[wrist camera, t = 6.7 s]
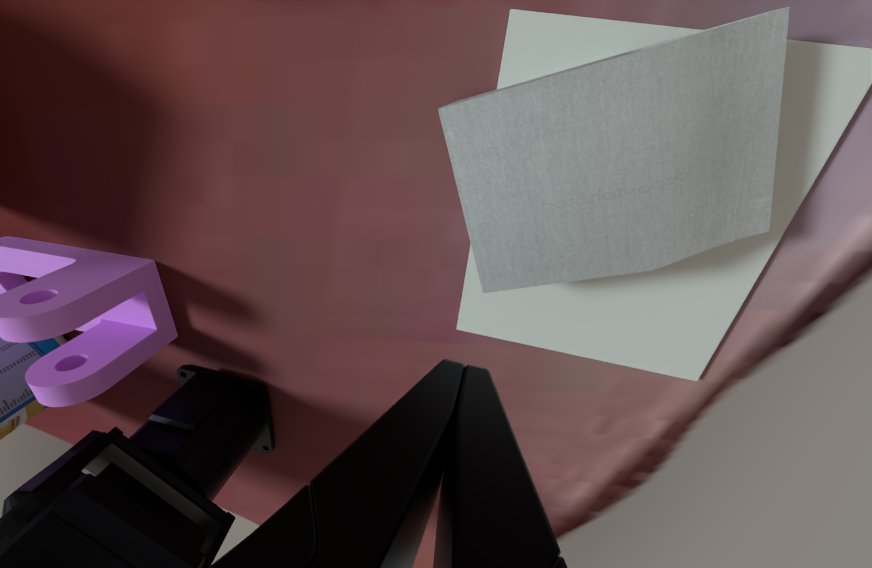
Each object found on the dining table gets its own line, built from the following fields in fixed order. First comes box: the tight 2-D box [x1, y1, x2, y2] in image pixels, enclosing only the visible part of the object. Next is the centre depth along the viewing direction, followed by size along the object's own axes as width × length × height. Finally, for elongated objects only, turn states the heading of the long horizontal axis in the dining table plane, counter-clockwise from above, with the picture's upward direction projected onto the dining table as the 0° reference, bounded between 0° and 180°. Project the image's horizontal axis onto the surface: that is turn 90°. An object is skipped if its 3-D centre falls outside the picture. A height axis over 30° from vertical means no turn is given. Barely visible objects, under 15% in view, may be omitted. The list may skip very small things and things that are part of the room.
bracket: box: [0, 236, 178, 407], centre depth 23 cm, size 13×6×7 cm, turn 86°
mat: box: [457, 9, 872, 381], centre depth 17 cm, size 14×12×1 cm
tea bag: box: [438, 6, 790, 293], centre depth 14 cm, size 4×7×10 cm
